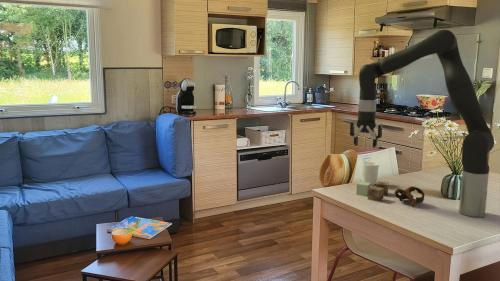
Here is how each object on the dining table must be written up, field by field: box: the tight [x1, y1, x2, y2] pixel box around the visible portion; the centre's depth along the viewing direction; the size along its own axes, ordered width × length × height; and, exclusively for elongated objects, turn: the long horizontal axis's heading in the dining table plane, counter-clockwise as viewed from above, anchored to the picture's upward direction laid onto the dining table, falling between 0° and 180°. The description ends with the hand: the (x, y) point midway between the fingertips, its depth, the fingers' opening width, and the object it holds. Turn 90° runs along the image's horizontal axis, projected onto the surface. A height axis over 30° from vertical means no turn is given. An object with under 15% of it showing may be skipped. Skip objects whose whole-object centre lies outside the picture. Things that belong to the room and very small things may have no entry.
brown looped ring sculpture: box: [394, 186, 425, 207], centre depth 189 cm, size 12×10×8 cm
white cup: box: [361, 161, 380, 186], centre depth 220 cm, size 8×8×10 cm
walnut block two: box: [367, 185, 385, 202], centre depth 195 cm, size 5×5×5 cm
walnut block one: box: [375, 180, 389, 197], centre depth 203 cm, size 5×5×5 cm
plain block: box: [355, 180, 372, 197], centre depth 203 cm, size 5×5×5 cm
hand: (365, 146), depth 198 cm, fingers open, 7 cm apart
